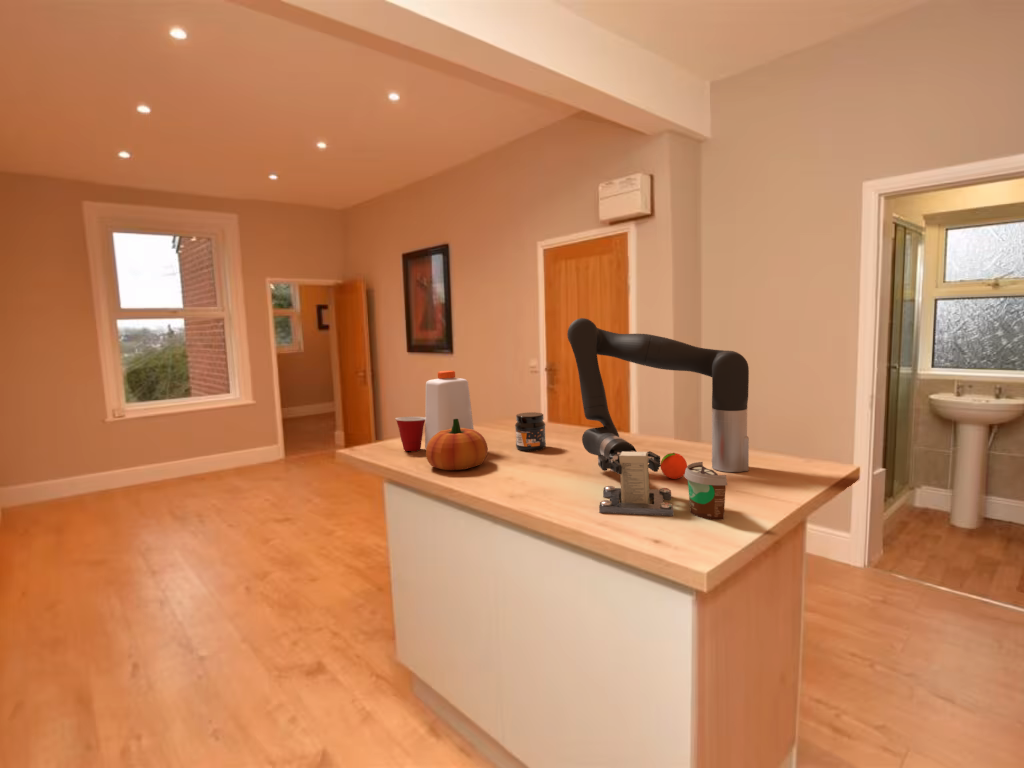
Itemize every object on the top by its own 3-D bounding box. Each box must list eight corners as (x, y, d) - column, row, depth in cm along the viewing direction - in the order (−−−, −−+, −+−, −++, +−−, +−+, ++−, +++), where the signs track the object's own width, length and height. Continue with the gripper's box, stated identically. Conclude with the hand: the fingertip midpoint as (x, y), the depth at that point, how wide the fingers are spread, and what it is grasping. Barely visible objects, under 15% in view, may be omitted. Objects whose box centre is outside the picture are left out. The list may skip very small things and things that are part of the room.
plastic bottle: (456, 443, 199) (452, 368, 196) (480, 449, 188) (476, 370, 185) (420, 450, 190) (416, 372, 187) (444, 457, 178) (439, 374, 175)
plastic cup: (434, 448, 193) (432, 415, 192) (413, 454, 184) (411, 420, 183) (412, 445, 199) (410, 413, 197) (390, 452, 190) (388, 418, 188)
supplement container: (513, 451, 182) (512, 417, 181) (518, 445, 193) (517, 412, 191) (544, 451, 181) (543, 416, 179) (547, 444, 191) (546, 411, 190)
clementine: (670, 484, 140) (670, 457, 139) (652, 478, 146) (651, 452, 145) (692, 479, 143) (692, 453, 142) (674, 473, 149) (673, 448, 148)
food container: (675, 504, 124) (675, 462, 123) (701, 503, 124) (701, 461, 123) (698, 524, 112) (698, 477, 111) (727, 522, 112) (727, 475, 111)
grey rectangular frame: (670, 496, 130) (670, 487, 130) (673, 516, 117) (673, 506, 116) (604, 493, 134) (604, 485, 134) (599, 512, 121) (599, 503, 120)
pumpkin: (462, 455, 181) (460, 411, 179) (501, 464, 167) (499, 417, 165) (414, 467, 167) (411, 420, 166) (452, 478, 154) (449, 427, 152)
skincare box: (649, 502, 127) (649, 451, 125) (648, 508, 122) (647, 455, 121) (622, 500, 129) (621, 450, 127) (620, 506, 125) (619, 454, 123)
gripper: (590, 439, 138) (607, 454, 122) (644, 436, 139) (668, 450, 123) (591, 468, 138) (608, 486, 122) (644, 464, 140) (668, 482, 124)
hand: (638, 468), depth 123 cm, fingers open, 8 cm apart
